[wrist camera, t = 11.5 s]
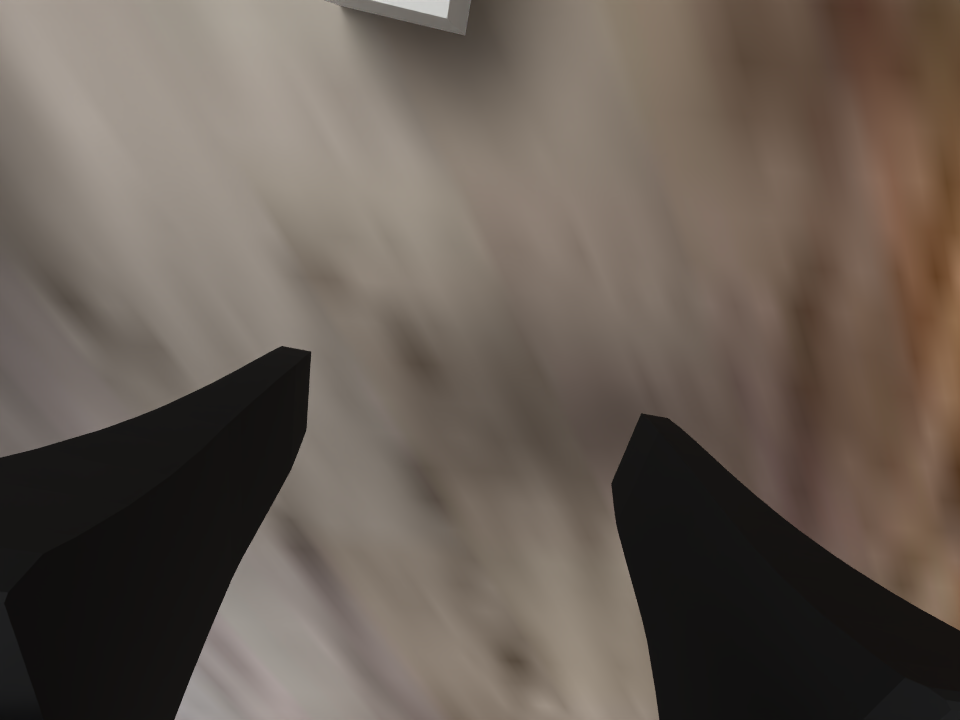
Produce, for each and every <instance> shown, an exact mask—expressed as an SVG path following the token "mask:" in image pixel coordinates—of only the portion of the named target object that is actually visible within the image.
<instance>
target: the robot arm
mask: <svg viewBox="0 0 960 720" xmlns="http://www.w3.org/2000/svg"><path fill="white" fill-rule="evenodd" d="M310 362H311V352H310V351H305V350H300V349H294V348H289V347H284V346H281V347H279V348H277V349H275V350H273V351H271V352H269V353H267V354H265V355H264V356H262V357H260V358H258V359H256V360H255V361H253V362H251V363H249V364H247V365H245V366H244V367H242V368H240V369H238V370H236V371H234V372H232V373H231V374H229V375H227V376H225V377H223V378H221V379H219V380H217V381H215V382H214V383H212V384H210V385H208V386H205V387H203V388H201V389H199V390H197V391H195V392H193V393H190V394H188V395H186V396H184V397H182V398H180V399H178V400H176V401H173V402H171V403H169V404H167V405H165V406H162V407H160V408H158V409H155V410H153V411H150V412H148V413H145V414H143V415H140V416H138V417H135V418H132V419H130V420H127V421H124V422H121V423H119V424H116V425H113V426H110V427H108V428H105V429H102V430H99V431H95V432H92V433H89V434H85V435H82V436H79V437H75V438H72V439H68V440H65V441H62V442H58V443H55V444H52V445H48V446H45V447H42V448H38V449H34V450H30V451H26V452H22V453H18V454H14V455H10V456H6V457H2V458H0V720H174V719H175V716H176V714H177V711H178V709H179V706H180V704H181V701H182V698H183V696H184V693H185V691H186V688H187V685H188V683H189V680H190V678H191V675H192V673H193V670H194V668H195V666H196V663H197V661H198V658H199V656H200V653H201V651H202V648H203V646H204V643H205V641H206V639H207V636H208V634H209V631H210V629H211V626H212V624H213V622H214V619H215V617H216V615H217V612H218V610H219V608H220V605H221V603H222V601H223V598H224V596H225V594H226V591H227V589H228V587H229V584H230V582H231V580H232V577H233V575H234V573H235V571H236V569H237V567H238V565H239V563H240V561H241V559H242V557H243V556H244V554H245V552H246V550H247V548H248V547H249V545H250V543H251V541H252V539H253V538H254V536H255V534H256V532H257V531H258V529H259V527H260V525H261V523H262V522H263V520H264V518H265V516H266V514H267V513H268V511H269V509H270V507H271V505H272V504H273V502H274V500H275V498H276V496H277V494H278V493H279V491H280V489H281V487H282V485H283V484H284V482H285V480H286V478H287V476H288V474H289V472H290V471H291V468H292V466H293V463H294V461H295V458H296V456H297V453H298V451H299V448H300V446H301V443H302V440H303V438H304V435H305V432H306V428H307V411H308V395H309V379H310ZM611 484H612V493H613V503H614V511H615V518H616V525H617V529H618V533H619V537H620V540H621V544H622V548H623V552H624V555H625V559H626V563H627V566H628V570H629V574H630V577H631V581H632V584H633V588H634V592H635V595H636V599H637V602H638V606H639V610H640V613H641V617H642V621H643V625H644V629H645V634H646V638H647V643H648V649H649V655H650V661H651V667H652V673H653V679H654V685H655V691H656V698H657V705H658V713H659V720H960V631H959V630H957V629H956V628H954V627H952V626H950V625H948V624H946V623H945V622H943V621H941V620H939V619H937V618H936V617H934V616H932V615H930V614H928V613H926V612H925V611H923V610H921V609H919V608H918V607H916V606H914V605H912V604H911V603H909V602H907V601H906V600H904V599H902V598H900V597H899V596H897V595H895V594H894V593H892V592H890V591H889V590H887V589H885V588H884V587H882V586H881V585H879V584H877V583H876V582H874V581H873V580H871V579H870V578H868V577H866V576H865V575H863V574H862V573H860V572H858V571H857V570H855V569H854V568H852V567H851V566H849V565H848V564H846V563H845V562H843V561H842V560H840V559H839V558H837V557H836V556H834V555H833V554H831V553H830V552H828V551H827V550H826V549H824V548H823V547H822V546H820V545H819V544H817V543H816V542H815V541H813V540H812V539H810V538H809V537H808V536H806V535H805V534H804V533H802V532H801V531H799V530H798V529H797V528H795V527H794V526H793V525H792V524H790V523H789V522H788V521H786V520H785V519H784V518H783V517H781V516H780V515H779V514H778V513H776V512H775V511H774V510H773V509H772V508H770V507H769V506H768V505H767V504H765V503H764V502H763V501H762V500H761V499H759V498H758V497H757V496H756V495H755V494H753V493H752V492H751V491H750V490H749V489H748V488H747V487H745V486H744V485H743V484H742V483H741V482H740V481H739V480H737V479H736V478H735V477H734V476H733V475H732V474H731V473H730V472H729V471H727V470H726V469H725V468H724V467H723V466H722V465H721V464H720V463H719V462H718V461H716V460H715V459H714V458H713V457H712V456H711V455H710V454H709V453H708V452H707V451H706V450H704V449H703V448H702V447H701V446H700V445H699V444H698V443H697V442H696V441H695V440H694V439H692V438H691V437H690V436H689V435H688V434H687V433H686V432H684V431H683V430H682V429H681V428H680V427H679V426H677V425H676V424H675V423H674V422H672V421H671V420H670V419H668V418H663V417H658V416H653V415H647V414H642V413H641V416H640V418H639V420H638V423H637V425H636V427H635V430H634V432H633V434H632V437H631V439H630V441H629V444H628V446H627V448H626V451H625V453H624V455H623V458H622V460H621V462H620V465H619V467H618V469H617V472H616V474H615V476H614V479H613V481H612V483H611Z"/></svg>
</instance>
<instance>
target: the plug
mask: <svg viewBox="0 0 960 720" xmlns="http://www.w3.org/2000/svg"><path fill="white" fill-rule="evenodd" d="M325 1H328V2H331V3H334V4H336V5H339V6H343V7H347V8H351V9H355V10H360V11H364V12H368V13H372V14H376V15H381V16H385V17H389V18H393V19H397V20H402V21H406V22H410V23H414V24H418V25H422V26H427V27H431V28H435V29H439V30H443V31H448V32H452V33H456V34H460V35H464V36H465V35H466V29H467V23H468V17H469V10H470V4H471V0H325Z"/></svg>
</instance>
